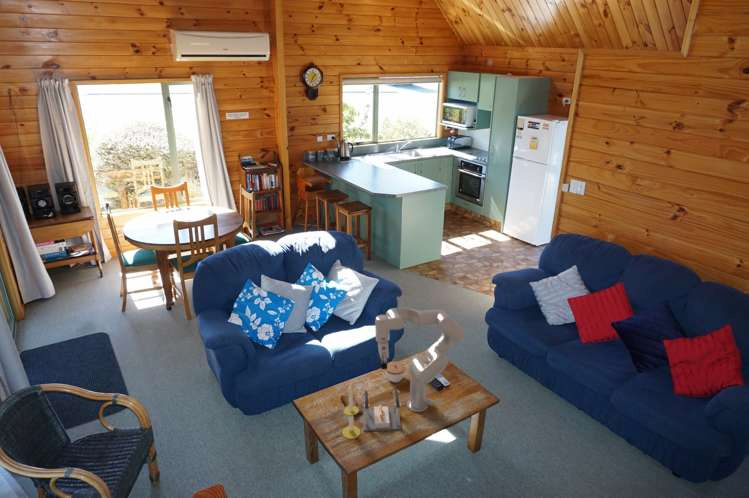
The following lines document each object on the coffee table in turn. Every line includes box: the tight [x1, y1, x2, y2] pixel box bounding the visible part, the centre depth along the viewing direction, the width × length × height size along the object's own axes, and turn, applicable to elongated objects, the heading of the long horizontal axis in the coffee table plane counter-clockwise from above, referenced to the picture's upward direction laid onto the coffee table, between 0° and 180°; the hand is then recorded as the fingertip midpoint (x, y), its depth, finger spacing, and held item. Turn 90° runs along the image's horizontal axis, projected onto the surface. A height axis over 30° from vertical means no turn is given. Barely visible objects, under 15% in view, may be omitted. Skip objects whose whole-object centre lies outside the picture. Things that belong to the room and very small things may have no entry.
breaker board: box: [362, 390, 402, 432], centre depth 286 cm, size 21×16×15 cm
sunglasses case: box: [340, 395, 364, 418], centre depth 300 cm, size 18×7×7 cm
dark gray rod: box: [394, 389, 400, 408], centre depth 284 cm, size 2×15×2 cm, turn 3°
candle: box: [342, 383, 361, 440], centre depth 274 cm, size 10×10×32 cm
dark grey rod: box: [364, 390, 369, 409], centre depth 283 cm, size 2×15×2 cm, turn 3°
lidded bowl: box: [384, 361, 406, 383], centre depth 323 cm, size 13×13×11 cm
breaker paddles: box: [378, 404, 383, 420], centre depth 287 cm, size 1×9×3 cm, turn 2°
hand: (383, 363), depth 283 cm, fingers open, 9 cm apart
